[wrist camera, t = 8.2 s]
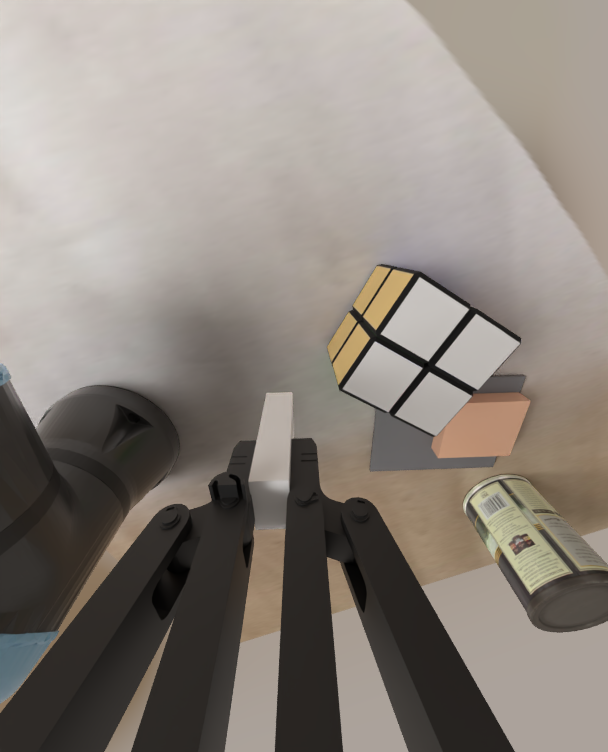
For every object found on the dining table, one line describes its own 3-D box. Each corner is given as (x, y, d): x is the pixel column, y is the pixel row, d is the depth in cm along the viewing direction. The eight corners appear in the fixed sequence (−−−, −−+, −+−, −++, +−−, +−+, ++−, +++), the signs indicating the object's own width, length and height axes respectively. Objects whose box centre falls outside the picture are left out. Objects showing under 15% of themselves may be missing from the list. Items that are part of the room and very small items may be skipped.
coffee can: (509, 524, 45) (591, 636, 33) (450, 516, 44) (512, 629, 31) (547, 478, 41) (659, 587, 28) (483, 468, 40) (570, 577, 27)
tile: (438, 458, 35) (509, 455, 35) (451, 403, 32) (530, 400, 32) (430, 446, 37) (498, 444, 37) (442, 394, 34) (517, 391, 34)
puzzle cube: (456, 312, 29) (527, 341, 20) (398, 387, 33) (436, 440, 24) (378, 261, 27) (418, 269, 18) (324, 348, 31) (336, 391, 22)
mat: (369, 469, 39) (370, 471, 39) (378, 379, 33) (379, 381, 33) (491, 464, 39) (492, 466, 39) (523, 374, 33) (525, 376, 33)
